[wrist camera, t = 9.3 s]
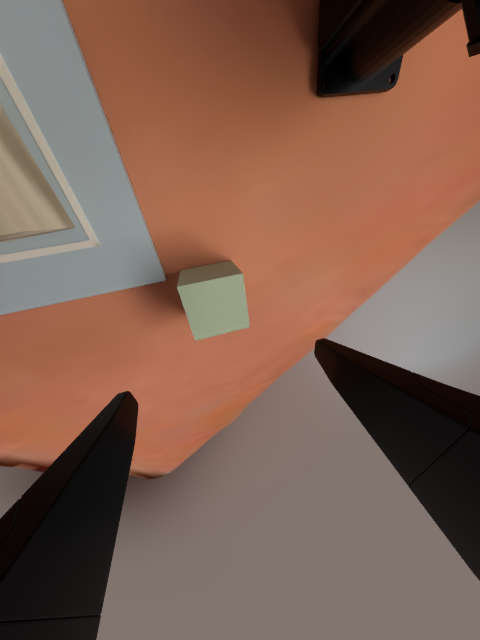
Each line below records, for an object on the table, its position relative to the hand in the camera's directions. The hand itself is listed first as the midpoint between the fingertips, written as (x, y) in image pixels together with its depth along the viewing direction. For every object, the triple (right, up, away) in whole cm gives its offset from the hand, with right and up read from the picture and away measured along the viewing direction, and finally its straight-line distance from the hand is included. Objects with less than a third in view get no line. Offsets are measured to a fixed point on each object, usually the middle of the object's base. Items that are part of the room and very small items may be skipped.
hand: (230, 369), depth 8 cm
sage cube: (-3, +6, +10) cm, 12 cm away
